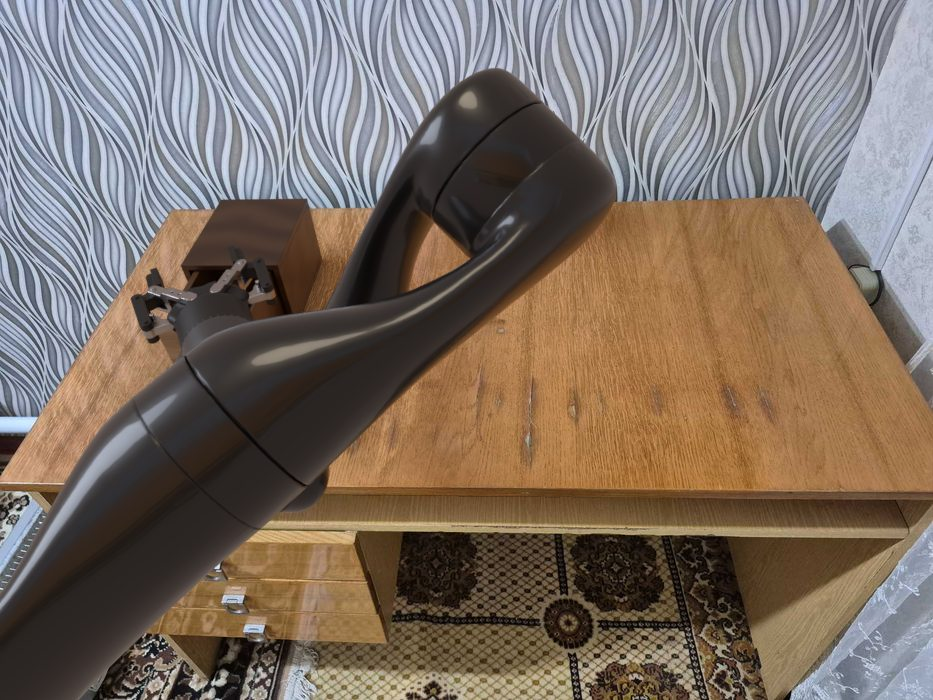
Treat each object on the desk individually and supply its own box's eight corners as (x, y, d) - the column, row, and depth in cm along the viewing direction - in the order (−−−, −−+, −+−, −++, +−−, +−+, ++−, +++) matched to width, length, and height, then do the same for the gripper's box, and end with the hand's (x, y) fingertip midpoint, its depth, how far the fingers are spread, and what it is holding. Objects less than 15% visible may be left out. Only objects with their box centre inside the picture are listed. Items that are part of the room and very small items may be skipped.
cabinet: (297, 328, 90) (277, 265, 82) (207, 327, 91) (180, 265, 83) (322, 259, 101) (307, 198, 93) (242, 259, 102) (221, 199, 94)
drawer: (257, 411, 78) (235, 358, 72) (164, 410, 79) (135, 357, 73) (298, 304, 92) (282, 252, 86) (219, 304, 93) (198, 252, 87)
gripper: (284, 295, 65) (246, 217, 75) (133, 345, 60) (115, 254, 71) (301, 351, 70) (263, 270, 80) (163, 400, 66) (142, 308, 76)
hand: (194, 263), depth 76 cm, fingers open, 8 cm apart
